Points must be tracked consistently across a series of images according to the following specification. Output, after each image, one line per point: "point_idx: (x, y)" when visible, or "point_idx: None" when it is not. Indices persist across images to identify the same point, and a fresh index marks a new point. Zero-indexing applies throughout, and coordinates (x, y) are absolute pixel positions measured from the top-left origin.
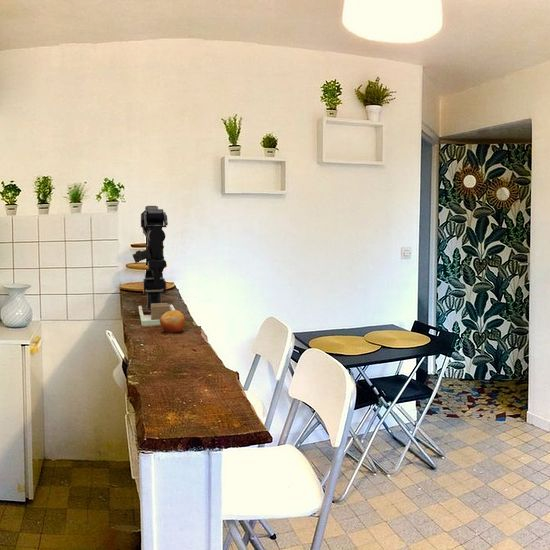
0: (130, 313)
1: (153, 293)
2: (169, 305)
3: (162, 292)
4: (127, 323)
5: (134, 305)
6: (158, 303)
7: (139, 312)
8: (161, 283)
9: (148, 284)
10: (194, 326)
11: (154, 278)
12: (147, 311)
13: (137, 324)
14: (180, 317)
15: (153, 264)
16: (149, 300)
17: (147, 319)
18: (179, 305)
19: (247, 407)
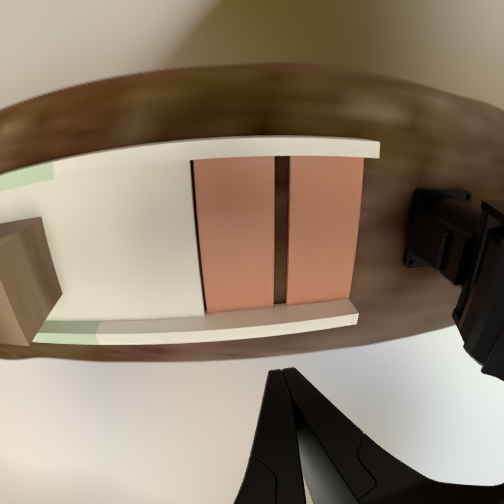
0: (335, 89)
1: (473, 256)
2: None
3: (457, 306)
4: (44, 94)
5: (500, 147)
6: (4, 298)
7: (234, 137)
8: (470, 345)
9: (499, 259)
10: (14, 356)
11: (258, 425)
12: (366, 187)
13: (18, 150)
14: None
15: None
16: (451, 217)
17: (60, 195)
18: (432, 323)
19: None
